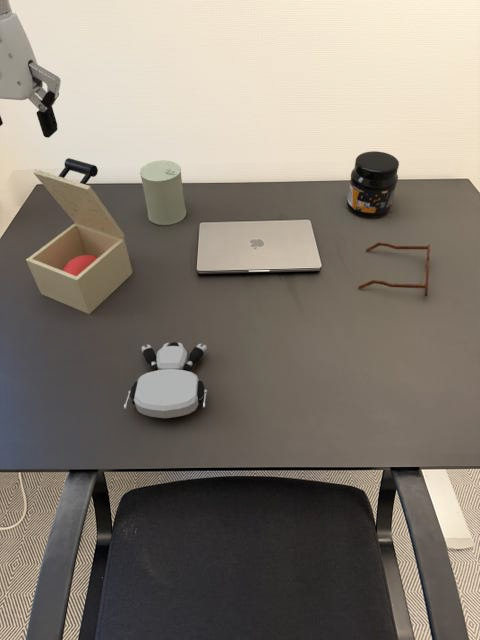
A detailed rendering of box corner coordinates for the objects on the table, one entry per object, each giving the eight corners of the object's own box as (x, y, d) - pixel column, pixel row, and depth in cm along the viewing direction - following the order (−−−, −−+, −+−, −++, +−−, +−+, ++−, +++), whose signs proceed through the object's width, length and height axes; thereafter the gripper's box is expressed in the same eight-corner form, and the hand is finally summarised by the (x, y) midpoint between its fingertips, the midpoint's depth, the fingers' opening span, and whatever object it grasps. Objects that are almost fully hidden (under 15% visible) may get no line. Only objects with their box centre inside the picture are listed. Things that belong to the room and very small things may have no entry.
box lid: (87, 189, 78) (106, 162, 80) (32, 172, 83) (52, 147, 84) (123, 238, 91) (138, 214, 93) (73, 221, 95) (89, 199, 97)
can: (175, 228, 109) (168, 182, 100) (140, 220, 111) (131, 174, 102) (192, 208, 114) (187, 162, 106) (159, 200, 117) (152, 155, 108)
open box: (89, 314, 90) (76, 280, 83) (41, 294, 94) (25, 259, 88) (132, 273, 98) (124, 239, 92) (86, 256, 102) (75, 222, 96)
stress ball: (61, 283, 97) (48, 273, 91) (93, 253, 98) (82, 241, 92) (78, 299, 96) (66, 290, 90) (110, 269, 97) (100, 257, 91)
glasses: (426, 301, 90) (433, 282, 87) (357, 289, 93) (362, 270, 90) (428, 260, 99) (434, 241, 95) (365, 249, 102) (369, 230, 98)
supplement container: (337, 209, 113) (344, 162, 104) (360, 191, 118) (368, 145, 110) (376, 225, 108) (387, 177, 99) (398, 205, 113) (410, 159, 105)
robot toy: (142, 355, 83) (127, 426, 72) (137, 337, 80) (121, 408, 69) (210, 354, 83) (206, 425, 72) (209, 336, 80) (204, 406, 69)
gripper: (-98, 7, 61) (-40, 136, 73) (22, 14, 58) (62, 147, 70) (-60, -7, 66) (-12, 116, 78) (52, -1, 63) (84, 125, 75)
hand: (23, 130), depth 74 cm, fingers open, 9 cm apart
